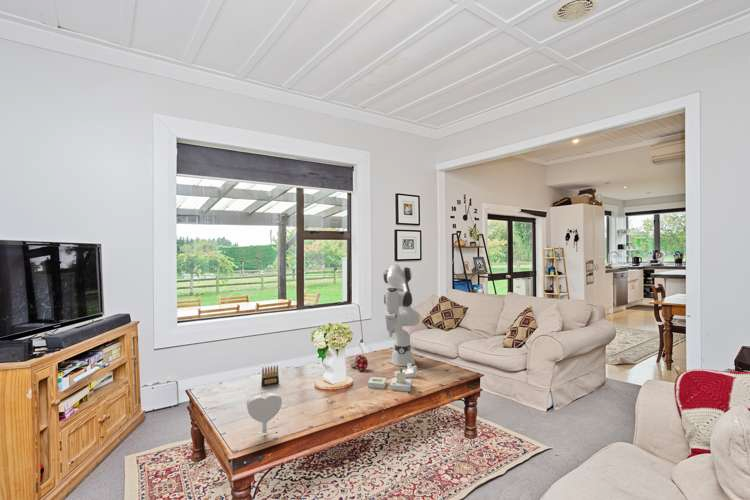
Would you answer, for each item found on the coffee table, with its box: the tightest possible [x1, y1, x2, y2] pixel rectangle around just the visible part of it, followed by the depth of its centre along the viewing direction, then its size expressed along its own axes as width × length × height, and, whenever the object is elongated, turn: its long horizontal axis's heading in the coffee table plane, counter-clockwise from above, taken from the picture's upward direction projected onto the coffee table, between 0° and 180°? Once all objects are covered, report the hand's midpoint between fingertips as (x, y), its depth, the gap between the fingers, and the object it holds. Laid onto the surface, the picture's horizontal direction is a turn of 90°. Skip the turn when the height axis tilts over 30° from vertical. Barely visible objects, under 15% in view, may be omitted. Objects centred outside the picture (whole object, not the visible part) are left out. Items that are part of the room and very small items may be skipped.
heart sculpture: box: [246, 392, 283, 434], centre depth 178 cm, size 16×5×18 cm, turn 116°
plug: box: [396, 367, 406, 384], centre depth 233 cm, size 3×5×11 cm, turn 79°
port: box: [389, 377, 413, 394], centre depth 233 cm, size 12×12×5 cm
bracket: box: [394, 363, 418, 379], centre depth 254 cm, size 13×7×8 cm, turn 120°
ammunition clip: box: [260, 364, 280, 387], centre depth 238 cm, size 11×2×12 cm, turn 118°
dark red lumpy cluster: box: [350, 354, 369, 372], centre depth 269 cm, size 11×11×15 cm
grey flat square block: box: [367, 376, 387, 390], centre depth 236 cm, size 10×10×4 cm
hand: (392, 334), depth 242 cm, fingers open, 8 cm apart
